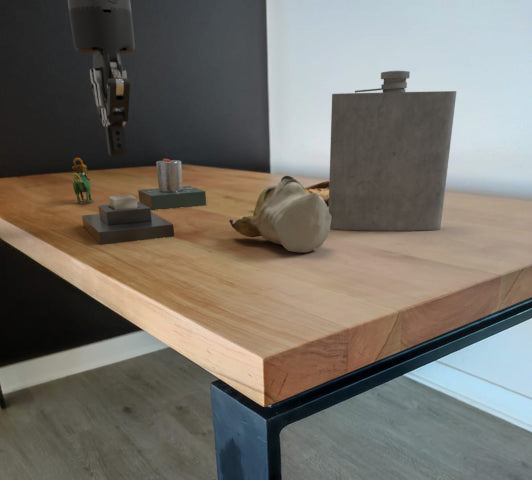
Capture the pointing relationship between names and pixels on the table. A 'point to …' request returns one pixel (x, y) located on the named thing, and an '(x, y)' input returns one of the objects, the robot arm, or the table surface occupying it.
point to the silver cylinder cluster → (169, 175)
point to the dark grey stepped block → (126, 225)
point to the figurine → (81, 181)
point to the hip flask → (389, 157)
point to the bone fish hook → (320, 190)
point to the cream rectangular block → (123, 202)
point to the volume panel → (172, 198)
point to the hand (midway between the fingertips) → (117, 156)
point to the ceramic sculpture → (288, 217)
